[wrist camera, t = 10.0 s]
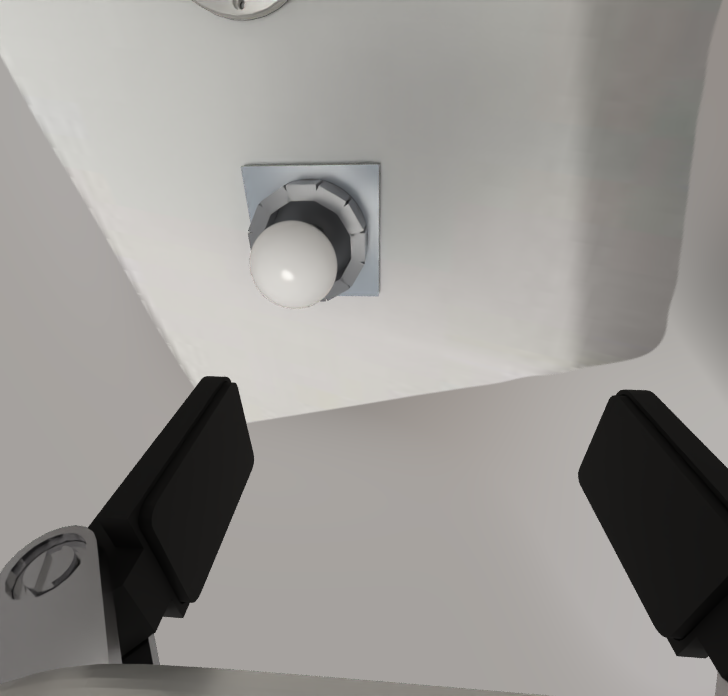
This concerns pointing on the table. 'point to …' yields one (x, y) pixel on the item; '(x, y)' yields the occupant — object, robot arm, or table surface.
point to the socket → (324, 214)
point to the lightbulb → (293, 264)
